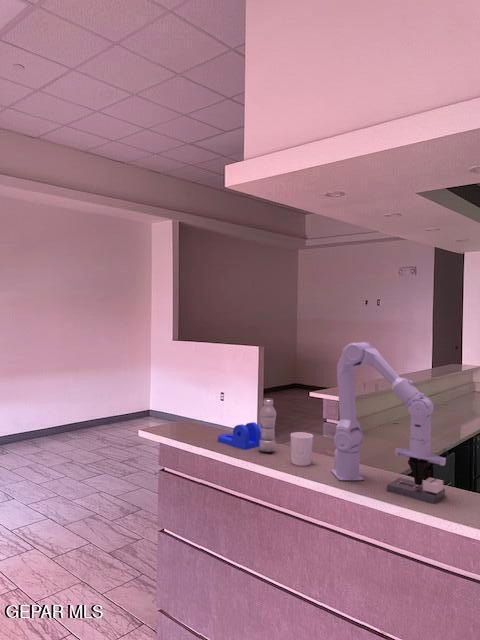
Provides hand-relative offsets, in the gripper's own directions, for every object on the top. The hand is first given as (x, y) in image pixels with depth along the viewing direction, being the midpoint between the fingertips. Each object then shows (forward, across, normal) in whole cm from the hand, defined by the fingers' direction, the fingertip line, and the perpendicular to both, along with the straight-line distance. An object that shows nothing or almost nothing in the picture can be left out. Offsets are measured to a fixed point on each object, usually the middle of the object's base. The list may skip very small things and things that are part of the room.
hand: (418, 484), depth 146 cm
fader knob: (0, -4, 0) cm, 4 cm away
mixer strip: (+3, +1, 0) cm, 3 cm away
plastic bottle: (+3, +59, -2) cm, 59 cm away
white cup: (+3, +42, 0) cm, 42 cm away
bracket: (+4, +75, -3) cm, 75 cm away
